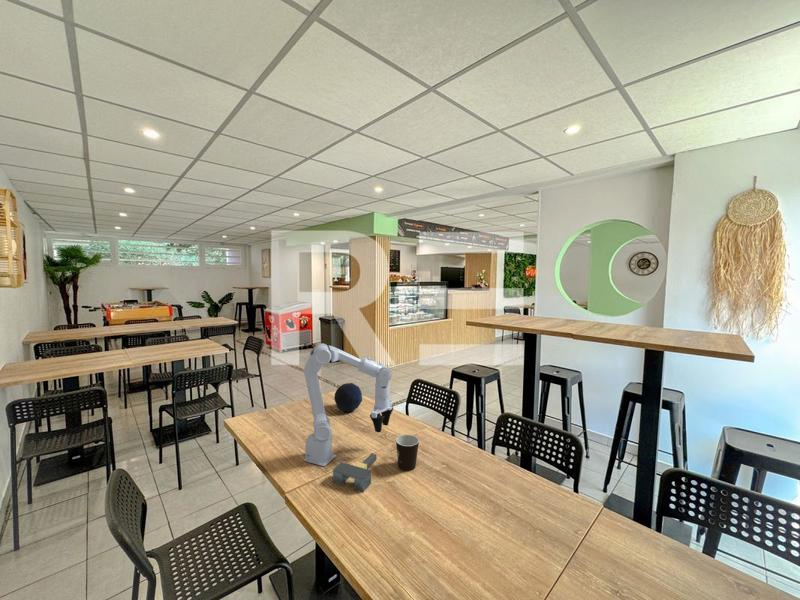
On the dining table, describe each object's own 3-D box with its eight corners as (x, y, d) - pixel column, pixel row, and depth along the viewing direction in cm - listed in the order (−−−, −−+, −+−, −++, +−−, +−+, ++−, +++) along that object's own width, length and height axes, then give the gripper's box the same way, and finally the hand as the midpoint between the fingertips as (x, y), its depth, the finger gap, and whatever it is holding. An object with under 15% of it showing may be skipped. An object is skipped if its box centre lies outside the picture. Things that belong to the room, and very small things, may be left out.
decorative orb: (351, 391, 183) (339, 374, 174) (371, 397, 174) (360, 380, 166) (336, 413, 174) (323, 396, 166) (357, 420, 165) (344, 403, 157)
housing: (332, 482, 110) (332, 469, 110) (341, 474, 114) (341, 462, 114) (363, 492, 105) (363, 478, 105) (371, 483, 110) (371, 470, 109)
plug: (370, 458, 125) (370, 450, 125) (377, 460, 124) (377, 452, 124) (354, 474, 115) (354, 466, 114) (362, 476, 113) (362, 468, 113)
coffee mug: (416, 474, 115) (417, 447, 114) (393, 471, 117) (393, 444, 116) (421, 457, 126) (421, 432, 126) (399, 454, 128) (399, 429, 128)
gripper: (383, 403, 121) (382, 438, 122) (398, 391, 134) (398, 423, 135) (366, 400, 123) (366, 434, 124) (383, 388, 137) (382, 419, 138)
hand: (381, 428), depth 130 cm, fingers open, 6 cm apart
